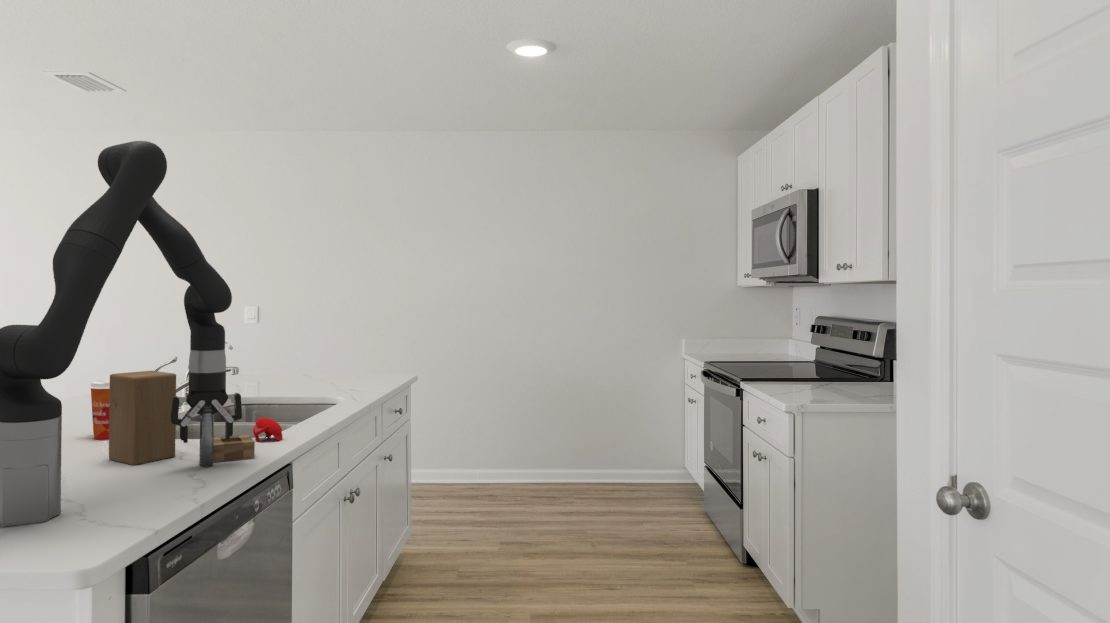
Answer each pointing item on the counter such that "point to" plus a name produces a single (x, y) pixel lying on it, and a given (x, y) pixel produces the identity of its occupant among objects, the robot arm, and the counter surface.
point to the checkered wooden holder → (233, 448)
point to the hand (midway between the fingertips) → (206, 440)
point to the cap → (267, 428)
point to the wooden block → (141, 417)
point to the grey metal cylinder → (206, 436)
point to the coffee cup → (100, 409)
